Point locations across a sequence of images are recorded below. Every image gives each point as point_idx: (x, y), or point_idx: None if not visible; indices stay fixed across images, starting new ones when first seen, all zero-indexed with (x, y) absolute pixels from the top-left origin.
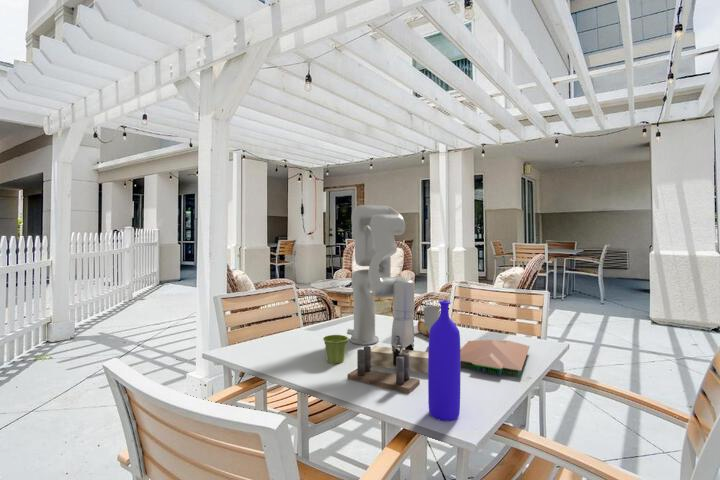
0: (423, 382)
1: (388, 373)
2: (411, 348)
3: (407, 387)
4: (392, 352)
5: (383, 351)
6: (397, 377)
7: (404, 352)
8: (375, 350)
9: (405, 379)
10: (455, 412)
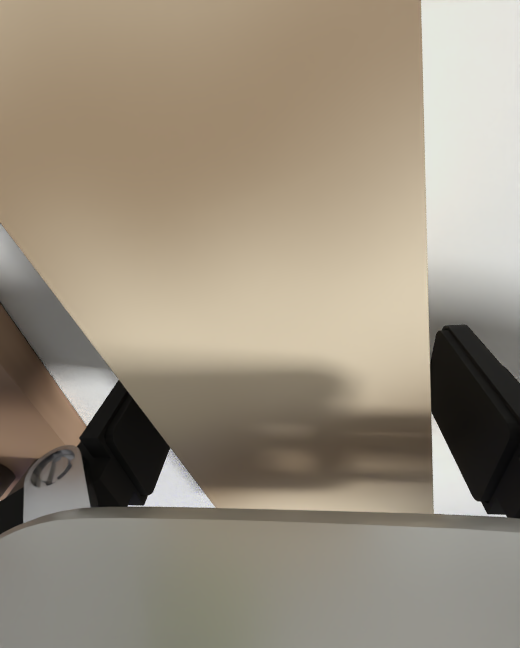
0: (159, 487)
1: (5, 381)
2: (480, 494)
3: (4, 498)
4: (172, 366)
5: (74, 208)
6: None
7: (290, 465)
8: None
9: None
10: None
